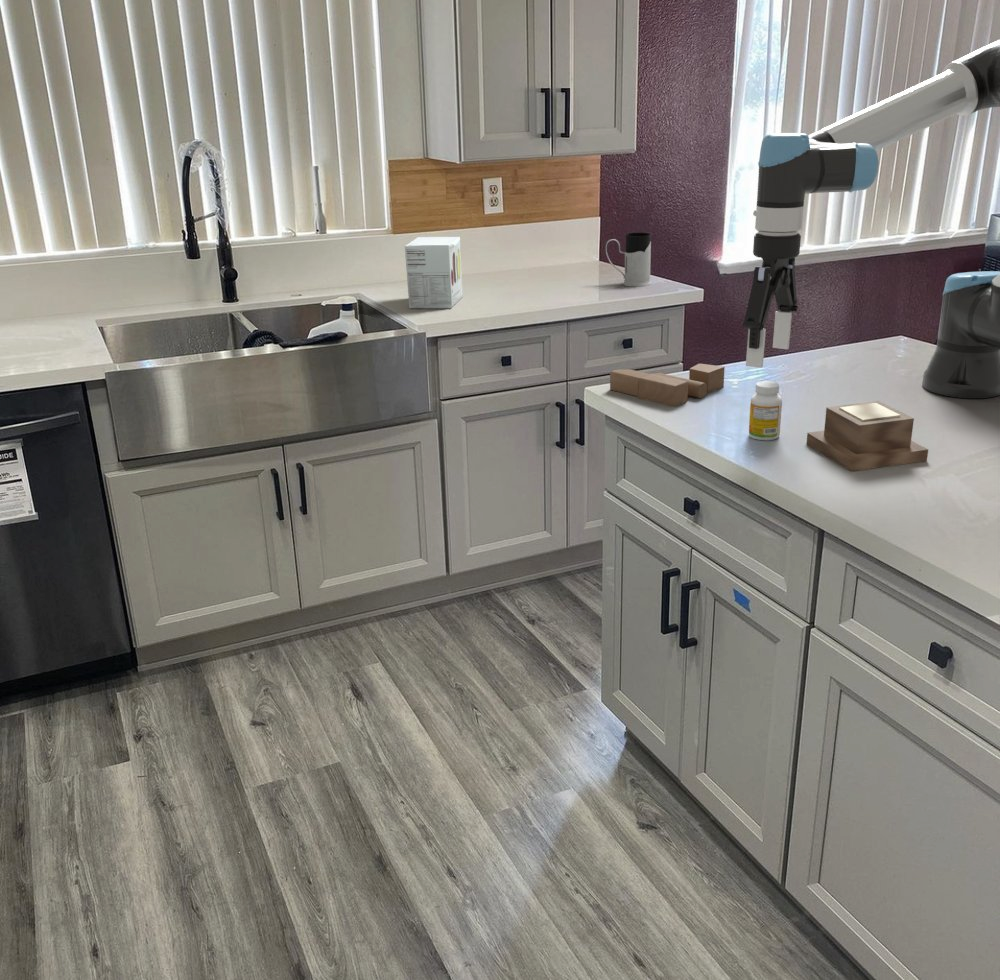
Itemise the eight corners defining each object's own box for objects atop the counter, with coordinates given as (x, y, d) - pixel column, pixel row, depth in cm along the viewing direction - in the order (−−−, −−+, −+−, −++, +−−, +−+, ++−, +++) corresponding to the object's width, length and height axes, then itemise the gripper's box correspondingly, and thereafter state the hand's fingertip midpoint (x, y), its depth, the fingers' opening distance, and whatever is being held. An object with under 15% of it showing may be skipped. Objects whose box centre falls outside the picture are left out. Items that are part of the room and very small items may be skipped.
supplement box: (453, 309, 286) (449, 245, 279) (408, 309, 288) (403, 245, 281) (464, 296, 301) (461, 235, 294) (421, 296, 304) (417, 236, 297)
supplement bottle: (756, 429, 182) (760, 377, 178) (784, 434, 179) (788, 382, 175) (743, 437, 178) (746, 385, 175) (771, 443, 175) (775, 390, 171)
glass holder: (652, 286, 304) (653, 236, 299) (605, 287, 306) (605, 237, 300) (650, 280, 312) (651, 231, 307) (605, 281, 314) (605, 233, 308)
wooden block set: (678, 382, 193) (608, 366, 206) (677, 410, 196) (608, 392, 208) (729, 363, 204) (659, 349, 216) (728, 389, 206) (659, 374, 218)
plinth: (877, 434, 177) (882, 394, 174) (926, 460, 165) (932, 419, 162) (806, 443, 174) (809, 403, 171) (851, 471, 162) (855, 428, 159)
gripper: (780, 221, 176) (770, 338, 184) (728, 241, 157) (720, 371, 165) (822, 223, 172) (811, 343, 181) (775, 244, 153) (764, 377, 161)
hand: (767, 357), depth 173 cm, fingers open, 13 cm apart
